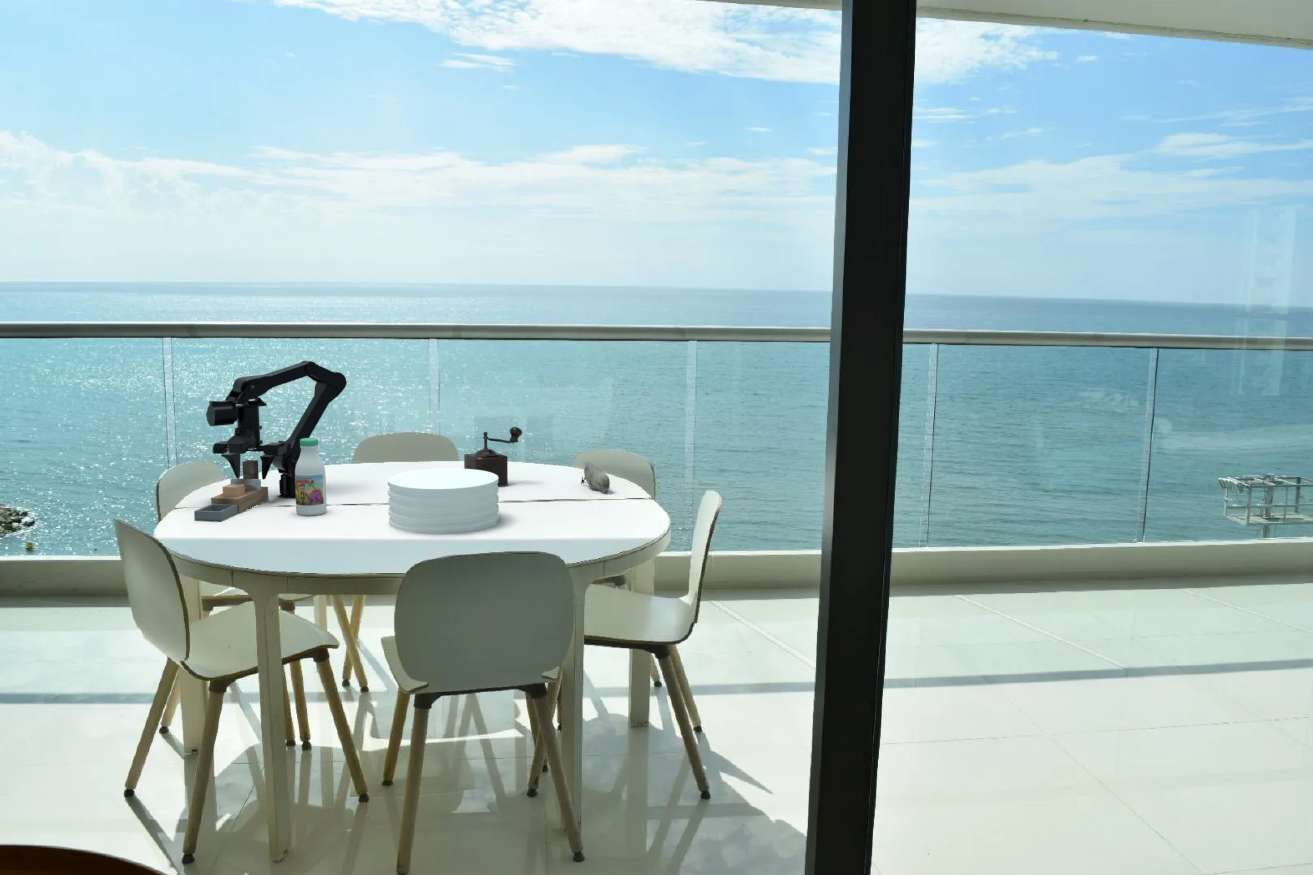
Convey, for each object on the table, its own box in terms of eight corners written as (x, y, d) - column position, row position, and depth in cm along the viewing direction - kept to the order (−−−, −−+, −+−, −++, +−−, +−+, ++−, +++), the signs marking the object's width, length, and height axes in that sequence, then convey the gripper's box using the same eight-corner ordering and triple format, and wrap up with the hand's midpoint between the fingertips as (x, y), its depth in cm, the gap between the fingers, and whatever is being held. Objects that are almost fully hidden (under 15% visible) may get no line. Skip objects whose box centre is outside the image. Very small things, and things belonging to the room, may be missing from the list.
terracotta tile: (244, 493, 269) (244, 484, 268) (237, 496, 265) (236, 487, 264) (230, 492, 269) (230, 483, 269) (223, 495, 265) (222, 486, 265)
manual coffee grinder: (478, 489, 298) (477, 430, 296) (463, 483, 307) (462, 426, 305) (524, 485, 307) (524, 427, 304) (509, 479, 316) (508, 422, 313)
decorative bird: (598, 495, 294) (598, 470, 293) (577, 485, 308) (577, 461, 307) (614, 494, 296) (615, 469, 295) (594, 484, 311) (594, 460, 309)
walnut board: (268, 500, 279) (267, 486, 278) (239, 513, 262) (238, 499, 262) (242, 499, 279) (241, 485, 279) (211, 512, 263) (210, 498, 262)
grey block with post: (267, 487, 278) (266, 460, 277) (259, 490, 273) (257, 463, 271) (240, 486, 278) (239, 459, 277) (231, 489, 273) (229, 462, 272)
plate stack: (372, 517, 262) (370, 474, 260) (468, 505, 278) (468, 464, 277) (416, 539, 240) (415, 493, 238) (518, 524, 256) (518, 481, 255)
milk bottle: (302, 509, 269) (299, 436, 266) (330, 509, 269) (328, 436, 266) (291, 516, 261) (289, 440, 258) (321, 516, 261) (318, 441, 258)
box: (237, 514, 262) (237, 504, 262) (220, 521, 254) (220, 512, 253) (212, 513, 262) (211, 504, 262) (194, 520, 254) (194, 511, 254)
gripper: (200, 426, 267) (203, 483, 269) (267, 428, 265) (269, 485, 267) (221, 420, 277) (224, 475, 280) (286, 422, 276) (288, 477, 278)
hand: (251, 478), depth 276 cm, fingers open, 7 cm apart
